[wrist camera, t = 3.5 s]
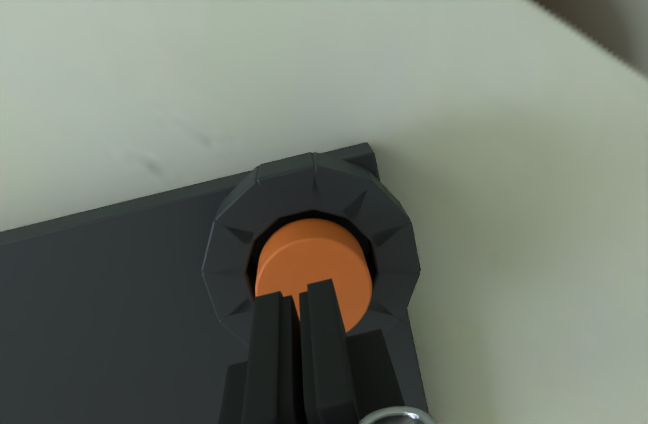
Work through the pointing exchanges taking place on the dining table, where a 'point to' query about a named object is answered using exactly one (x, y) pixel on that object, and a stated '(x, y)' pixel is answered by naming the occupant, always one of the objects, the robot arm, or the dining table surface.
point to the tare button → (316, 265)
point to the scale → (183, 291)
